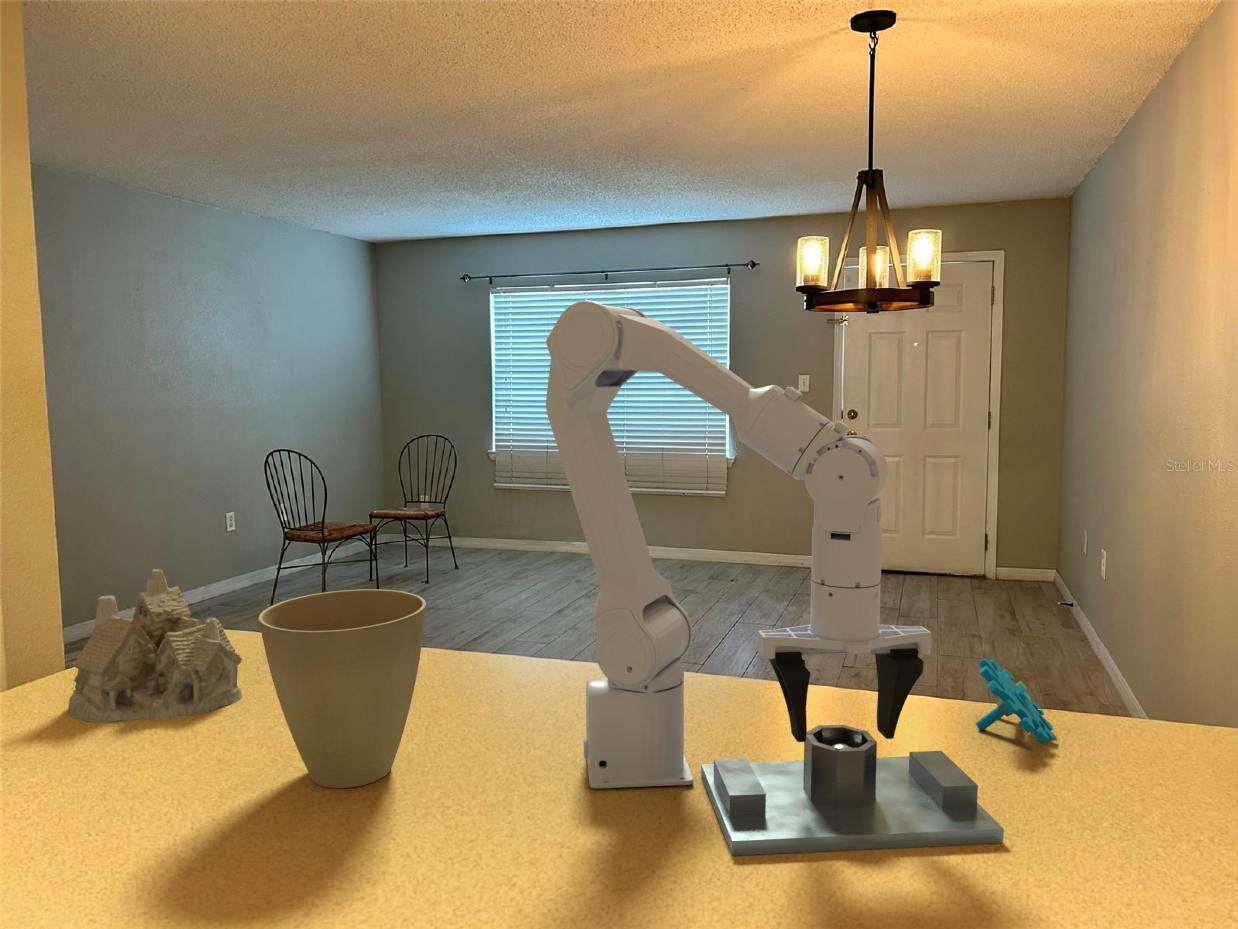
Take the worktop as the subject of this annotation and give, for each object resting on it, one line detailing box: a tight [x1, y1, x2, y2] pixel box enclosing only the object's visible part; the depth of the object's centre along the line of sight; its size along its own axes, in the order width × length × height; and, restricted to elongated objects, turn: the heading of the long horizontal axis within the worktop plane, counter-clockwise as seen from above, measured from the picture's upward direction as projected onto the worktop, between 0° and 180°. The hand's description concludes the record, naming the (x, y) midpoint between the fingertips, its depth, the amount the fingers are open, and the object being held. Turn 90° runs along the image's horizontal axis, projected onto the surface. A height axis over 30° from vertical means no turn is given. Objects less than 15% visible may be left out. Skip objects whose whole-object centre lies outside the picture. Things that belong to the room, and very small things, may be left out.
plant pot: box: [258, 588, 427, 789], centre depth 85 cm, size 15×15×16 cm
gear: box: [975, 658, 1056, 744], centre depth 95 cm, size 11×6×10 cm
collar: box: [803, 724, 878, 809], centre depth 78 cm, size 6×6×5 cm
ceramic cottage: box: [67, 568, 243, 724], centre depth 104 cm, size 16×16×15 cm
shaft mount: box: [700, 744, 1005, 856], centre depth 78 cm, size 22×14×6 cm, turn 95°
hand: (842, 736), depth 78 cm, fingers open, 7 cm apart
